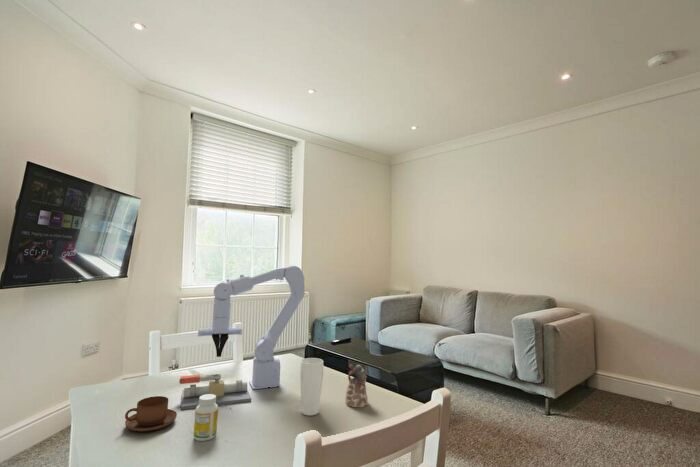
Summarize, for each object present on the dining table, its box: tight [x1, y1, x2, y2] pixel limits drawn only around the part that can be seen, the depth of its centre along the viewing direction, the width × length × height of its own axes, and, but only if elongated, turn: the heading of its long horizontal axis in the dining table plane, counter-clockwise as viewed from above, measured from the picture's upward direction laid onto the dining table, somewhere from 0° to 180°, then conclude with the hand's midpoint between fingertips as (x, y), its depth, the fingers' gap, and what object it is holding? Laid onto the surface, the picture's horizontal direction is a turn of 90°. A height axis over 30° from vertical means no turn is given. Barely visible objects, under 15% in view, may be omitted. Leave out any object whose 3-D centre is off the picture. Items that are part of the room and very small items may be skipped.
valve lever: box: [178, 373, 222, 385], centre depth 114 cm, size 12×2×2 cm, turn 112°
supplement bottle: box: [193, 394, 219, 442], centre depth 90 cm, size 5×5×10 cm
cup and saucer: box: [124, 395, 178, 432], centre depth 95 cm, size 12×12×6 cm
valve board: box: [180, 379, 252, 411], centre depth 115 cm, size 20×14×5 cm
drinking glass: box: [299, 357, 324, 417], centre depth 106 cm, size 7×7×15 cm
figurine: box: [345, 364, 369, 408], centre depth 115 cm, size 7×7×12 cm
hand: (218, 356), depth 125 cm, fingers closed
